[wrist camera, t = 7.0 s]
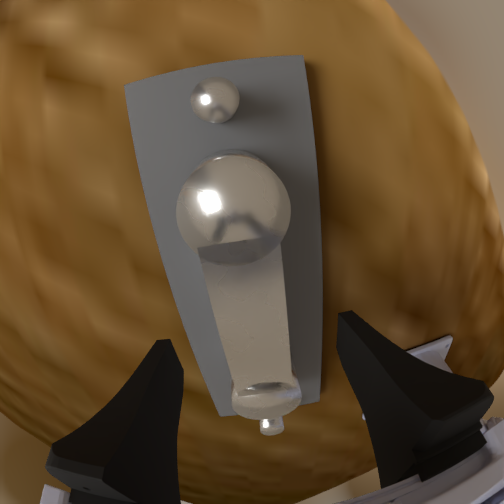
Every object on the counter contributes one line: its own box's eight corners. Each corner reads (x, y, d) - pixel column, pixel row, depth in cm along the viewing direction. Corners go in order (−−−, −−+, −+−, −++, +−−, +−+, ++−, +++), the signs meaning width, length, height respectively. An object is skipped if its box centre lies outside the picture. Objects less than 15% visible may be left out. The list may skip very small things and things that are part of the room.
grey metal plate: (316, 391, 21) (328, 430, 17) (220, 406, 21) (220, 447, 17) (298, 59, 11) (324, 37, 7) (131, 87, 11) (96, 76, 7)
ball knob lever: (293, 376, 18) (302, 413, 15) (236, 385, 18) (238, 423, 15) (270, 143, 12) (284, 149, 9) (180, 158, 12) (165, 169, 9)
